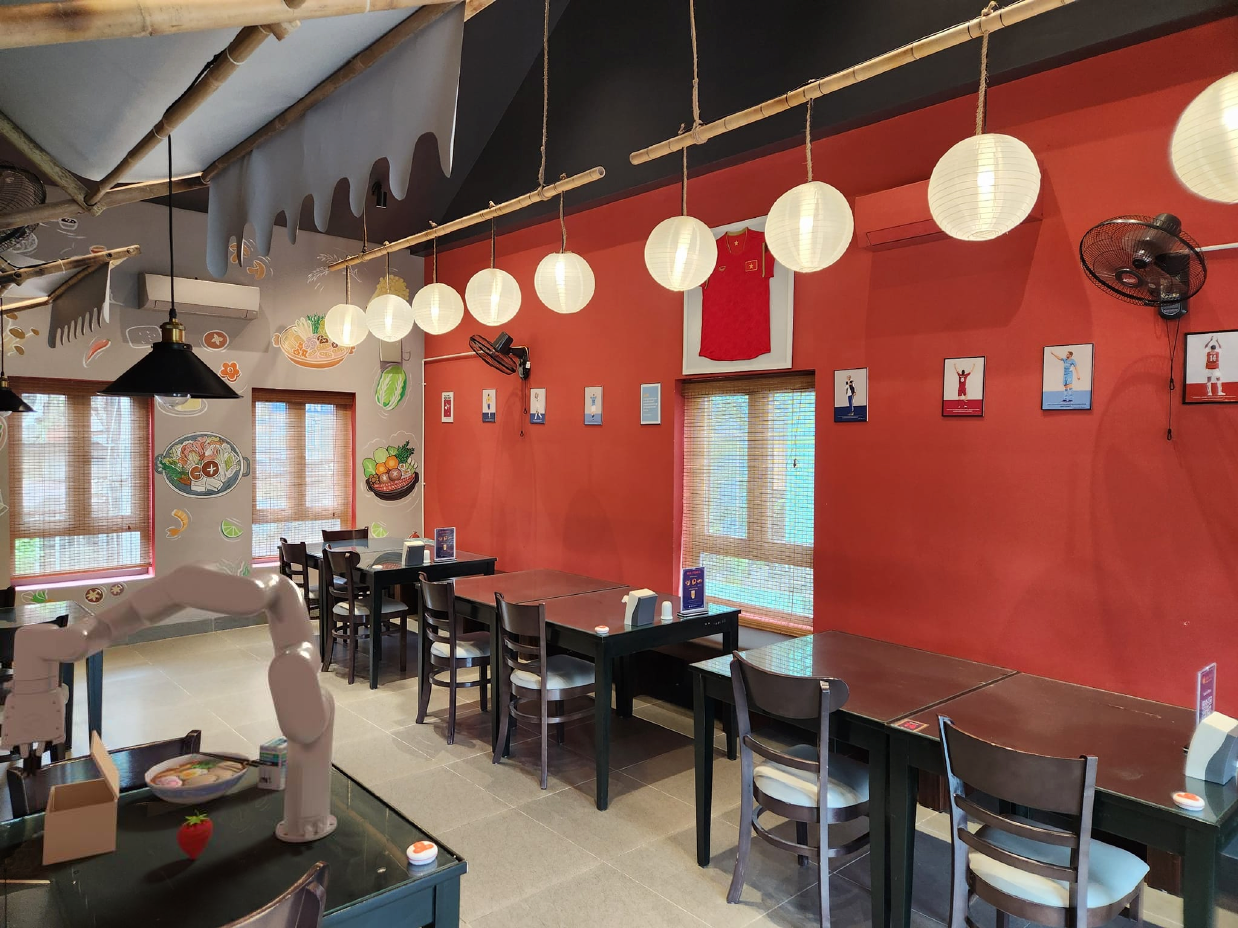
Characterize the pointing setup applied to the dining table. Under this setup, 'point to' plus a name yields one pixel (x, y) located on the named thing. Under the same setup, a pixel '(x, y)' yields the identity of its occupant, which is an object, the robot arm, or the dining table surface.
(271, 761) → the light bulb box
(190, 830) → the strawberry
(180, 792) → the ramen bowl
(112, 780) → the carton flap
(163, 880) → the dining table surface
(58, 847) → the cardboard carton
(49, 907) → the dining table surface
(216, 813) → the dining table surface
